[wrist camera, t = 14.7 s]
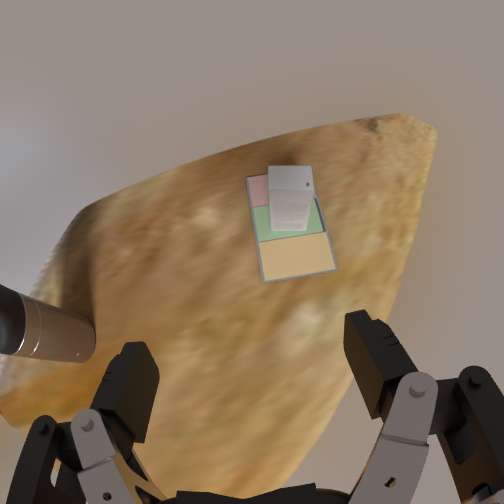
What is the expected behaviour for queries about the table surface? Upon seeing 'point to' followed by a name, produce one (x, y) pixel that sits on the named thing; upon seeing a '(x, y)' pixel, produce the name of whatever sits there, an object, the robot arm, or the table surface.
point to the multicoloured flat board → (288, 239)
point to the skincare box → (290, 197)
